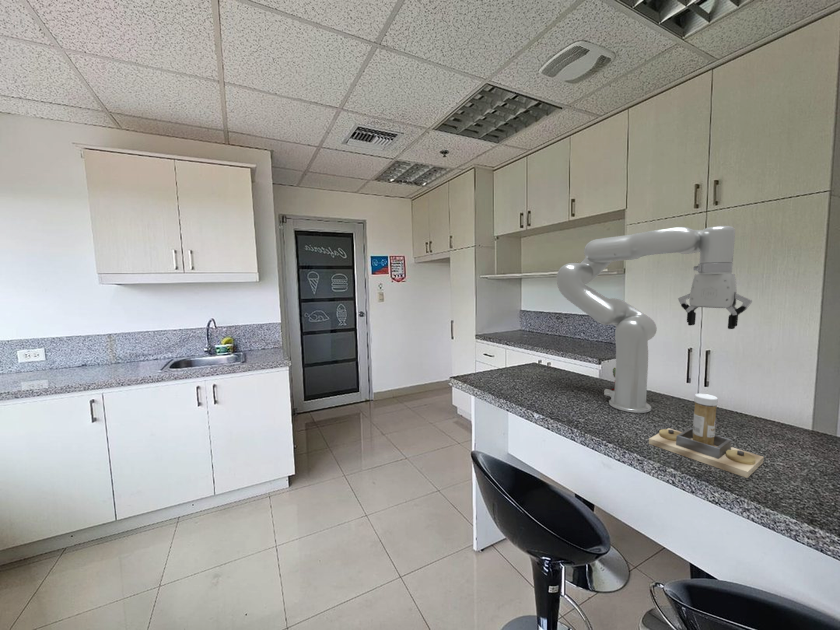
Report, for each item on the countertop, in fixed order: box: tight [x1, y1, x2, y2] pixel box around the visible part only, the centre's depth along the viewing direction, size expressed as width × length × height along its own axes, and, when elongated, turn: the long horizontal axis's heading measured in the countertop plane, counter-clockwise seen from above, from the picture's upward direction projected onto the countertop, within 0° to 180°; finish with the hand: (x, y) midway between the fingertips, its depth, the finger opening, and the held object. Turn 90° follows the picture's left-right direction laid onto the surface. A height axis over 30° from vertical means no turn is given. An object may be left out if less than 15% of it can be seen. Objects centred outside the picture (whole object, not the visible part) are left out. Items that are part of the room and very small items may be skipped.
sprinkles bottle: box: [692, 393, 719, 446], centre depth 88 cm, size 5×5×13 cm
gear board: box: [648, 427, 765, 479], centre depth 89 cm, size 20×12×4 cm, turn 33°
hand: (710, 326), depth 104 cm, fingers open, 9 cm apart
